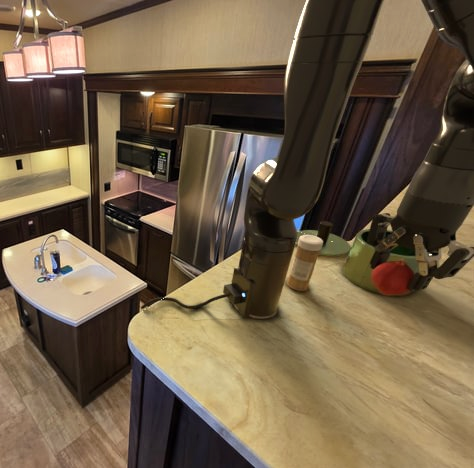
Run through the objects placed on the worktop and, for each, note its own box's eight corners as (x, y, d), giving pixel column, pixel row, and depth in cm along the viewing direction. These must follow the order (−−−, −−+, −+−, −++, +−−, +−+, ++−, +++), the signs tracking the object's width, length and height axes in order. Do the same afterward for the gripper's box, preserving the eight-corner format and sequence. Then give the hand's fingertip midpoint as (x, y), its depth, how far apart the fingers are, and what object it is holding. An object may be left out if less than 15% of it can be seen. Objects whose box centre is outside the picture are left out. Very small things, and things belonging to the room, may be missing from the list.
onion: (365, 280, 58) (382, 246, 54) (403, 291, 55) (424, 256, 51) (363, 296, 54) (381, 261, 50) (405, 309, 51) (427, 273, 47)
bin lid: (318, 261, 79) (326, 239, 76) (281, 237, 91) (286, 217, 88) (362, 253, 81) (371, 230, 78) (320, 230, 94) (326, 210, 90)
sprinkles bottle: (311, 286, 71) (327, 239, 64) (301, 294, 68) (317, 246, 62) (292, 277, 74) (305, 232, 67) (282, 284, 72) (295, 238, 65)
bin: (381, 300, 65) (400, 262, 60) (330, 268, 76) (343, 233, 71) (428, 290, 67) (451, 252, 62) (371, 259, 78) (387, 225, 73)
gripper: (374, 180, 50) (341, 260, 58) (483, 214, 38) (421, 309, 46) (409, 176, 51) (372, 255, 60) (526, 207, 39) (458, 301, 47)
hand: (394, 278), depth 53 cm, fingers closed on onion, 6 cm apart
